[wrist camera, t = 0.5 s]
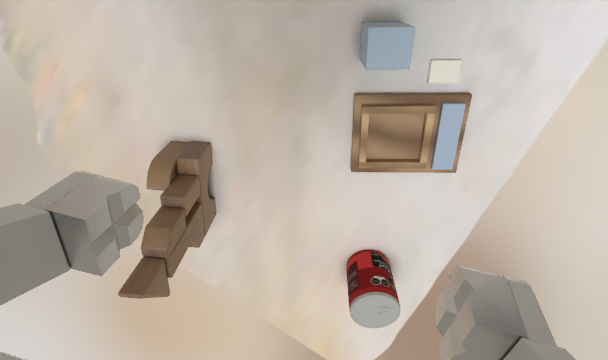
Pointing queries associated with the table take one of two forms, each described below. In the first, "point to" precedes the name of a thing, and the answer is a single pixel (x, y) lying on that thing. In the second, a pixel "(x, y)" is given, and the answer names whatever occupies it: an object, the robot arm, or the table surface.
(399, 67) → the block
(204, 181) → the wooden toy
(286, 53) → the table surface
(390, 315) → the canned food
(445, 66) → the cream rectangular block
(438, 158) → the plate
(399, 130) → the tray
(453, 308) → the robot arm
